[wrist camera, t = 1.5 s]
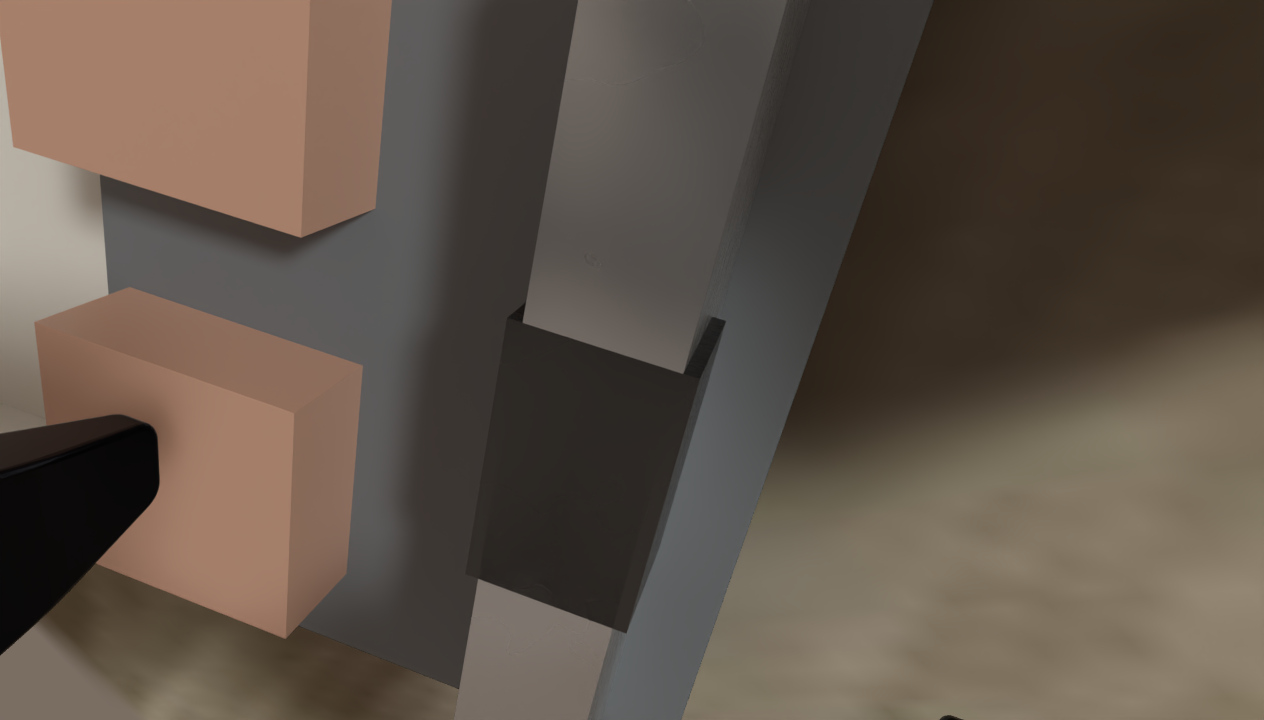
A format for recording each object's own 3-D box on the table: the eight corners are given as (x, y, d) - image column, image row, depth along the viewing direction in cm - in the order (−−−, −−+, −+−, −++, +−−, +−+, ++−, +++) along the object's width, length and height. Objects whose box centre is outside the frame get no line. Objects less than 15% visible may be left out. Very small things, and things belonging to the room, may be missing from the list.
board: (971, -146, 12) (1000, -192, 9) (691, 666, 19) (663, 769, 17) (213, -305, 14) (58, -383, 11) (220, 490, 21) (127, 558, 19)
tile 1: (402, -133, 11) (316, -162, 10) (375, 208, 13) (300, 237, 12) (99, -205, 12) (-34, -244, 10) (120, 130, 14) (13, 147, 12)
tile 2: (362, 365, 15) (294, 413, 13) (346, 573, 17) (285, 639, 15) (129, 287, 15) (34, 321, 14) (142, 496, 18) (61, 549, 16)
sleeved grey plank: (862, -119, 10) (860, -180, 7) (614, 713, 16) (556, 875, 13) (677, -159, 10) (596, -236, 7) (506, 671, 17) (425, 820, 14)
